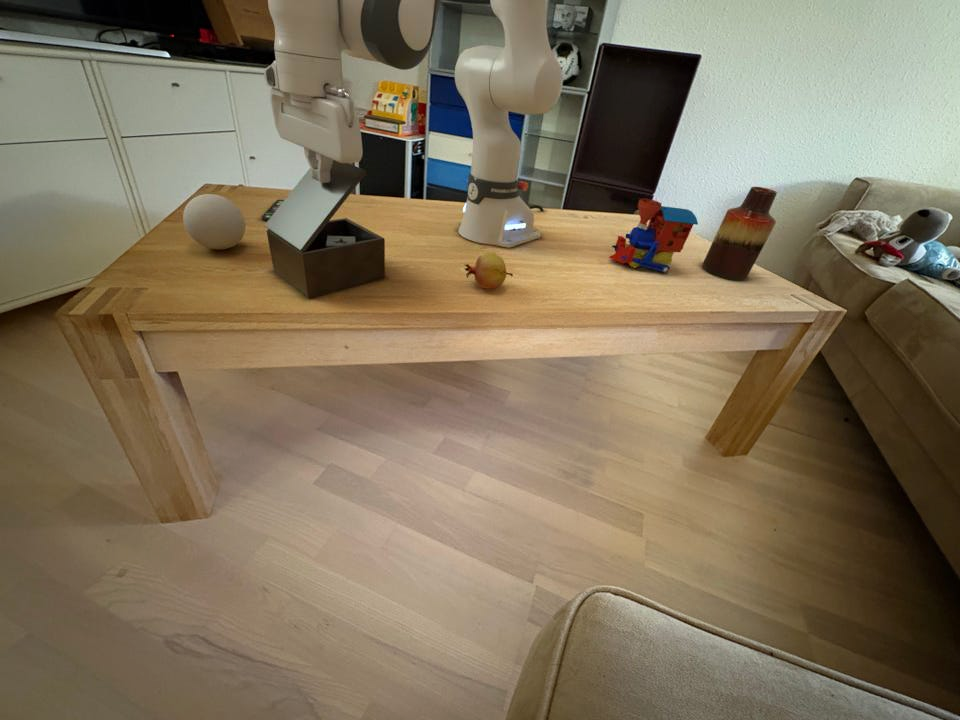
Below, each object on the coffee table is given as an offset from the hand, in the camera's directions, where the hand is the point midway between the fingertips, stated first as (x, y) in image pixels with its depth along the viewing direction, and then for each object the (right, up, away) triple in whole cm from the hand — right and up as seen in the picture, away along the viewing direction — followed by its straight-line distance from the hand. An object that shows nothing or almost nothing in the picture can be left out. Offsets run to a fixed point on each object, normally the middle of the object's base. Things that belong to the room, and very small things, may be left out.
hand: (321, 180), depth 68 cm
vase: (+89, -7, +39) cm, 97 cm away
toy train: (+66, -6, +35) cm, 75 cm away
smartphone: (-22, +7, +34) cm, 41 cm away
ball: (-25, -8, +14) cm, 29 cm away
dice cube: (0, -12, +12) cm, 17 cm away
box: (-2, -13, +10) cm, 17 cm away
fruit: (+28, -15, +14) cm, 35 cm away
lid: (-1, -3, +1) cm, 4 cm away
